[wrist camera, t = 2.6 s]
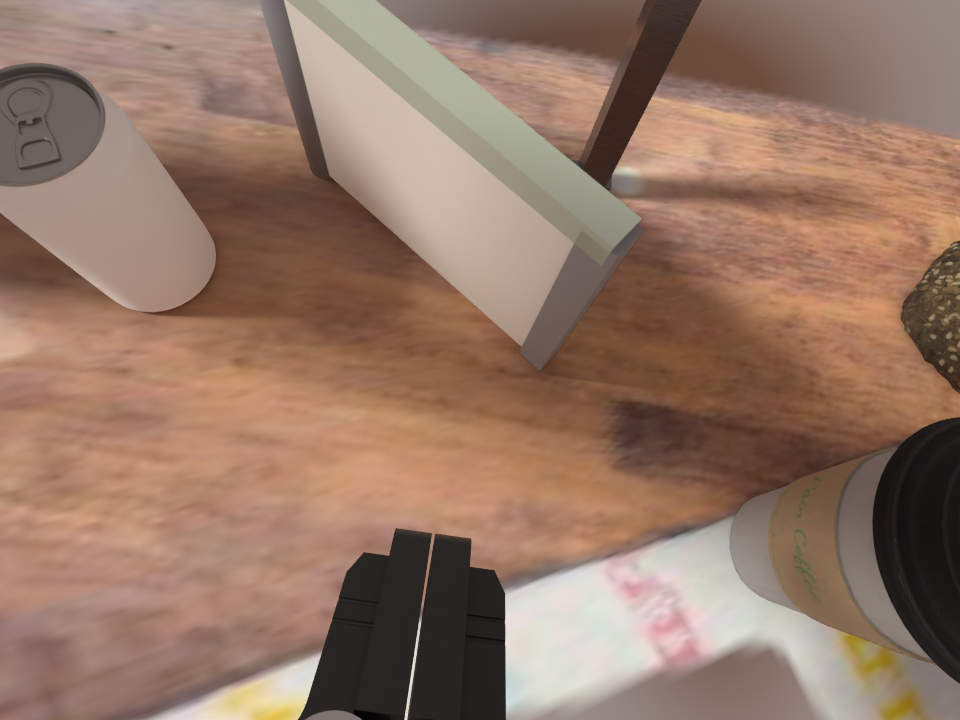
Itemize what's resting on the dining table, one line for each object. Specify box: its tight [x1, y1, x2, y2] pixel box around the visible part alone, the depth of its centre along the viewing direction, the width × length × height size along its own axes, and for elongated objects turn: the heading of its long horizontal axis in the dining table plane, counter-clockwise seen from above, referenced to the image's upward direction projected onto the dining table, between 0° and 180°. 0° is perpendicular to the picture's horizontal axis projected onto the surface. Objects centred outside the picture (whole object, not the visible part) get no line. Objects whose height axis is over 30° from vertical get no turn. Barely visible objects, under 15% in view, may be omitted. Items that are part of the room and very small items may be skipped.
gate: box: [259, 0, 644, 371], centre depth 28 cm, size 19×2×15 cm, turn 47°
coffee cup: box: [730, 417, 960, 683], centre depth 25 cm, size 9×9×15 cm
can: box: [0, 63, 216, 312], centre depth 28 cm, size 6×6×12 cm
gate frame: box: [571, 0, 701, 191], centre depth 30 cm, size 19×2×16 cm, turn 82°
